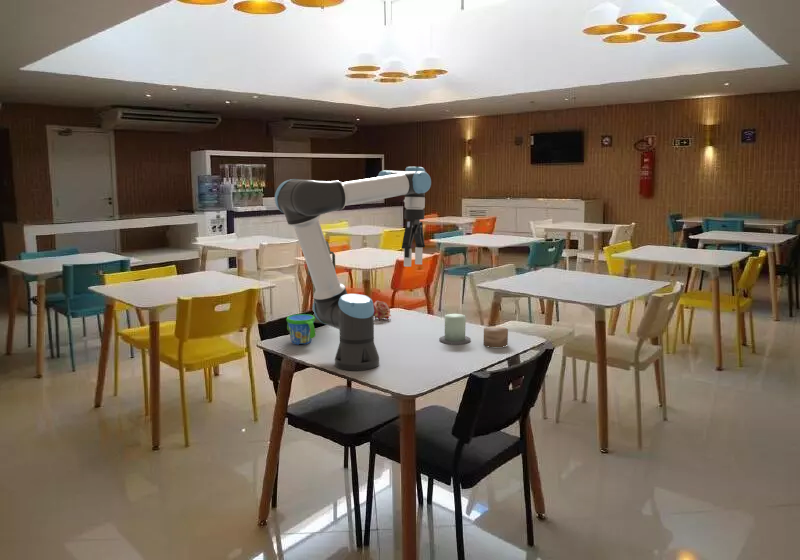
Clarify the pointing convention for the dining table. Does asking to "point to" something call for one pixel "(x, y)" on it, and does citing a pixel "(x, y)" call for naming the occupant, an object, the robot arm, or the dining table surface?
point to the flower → (381, 310)
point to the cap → (455, 327)
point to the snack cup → (301, 328)
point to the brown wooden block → (495, 336)
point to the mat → (442, 339)
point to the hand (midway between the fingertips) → (413, 265)
